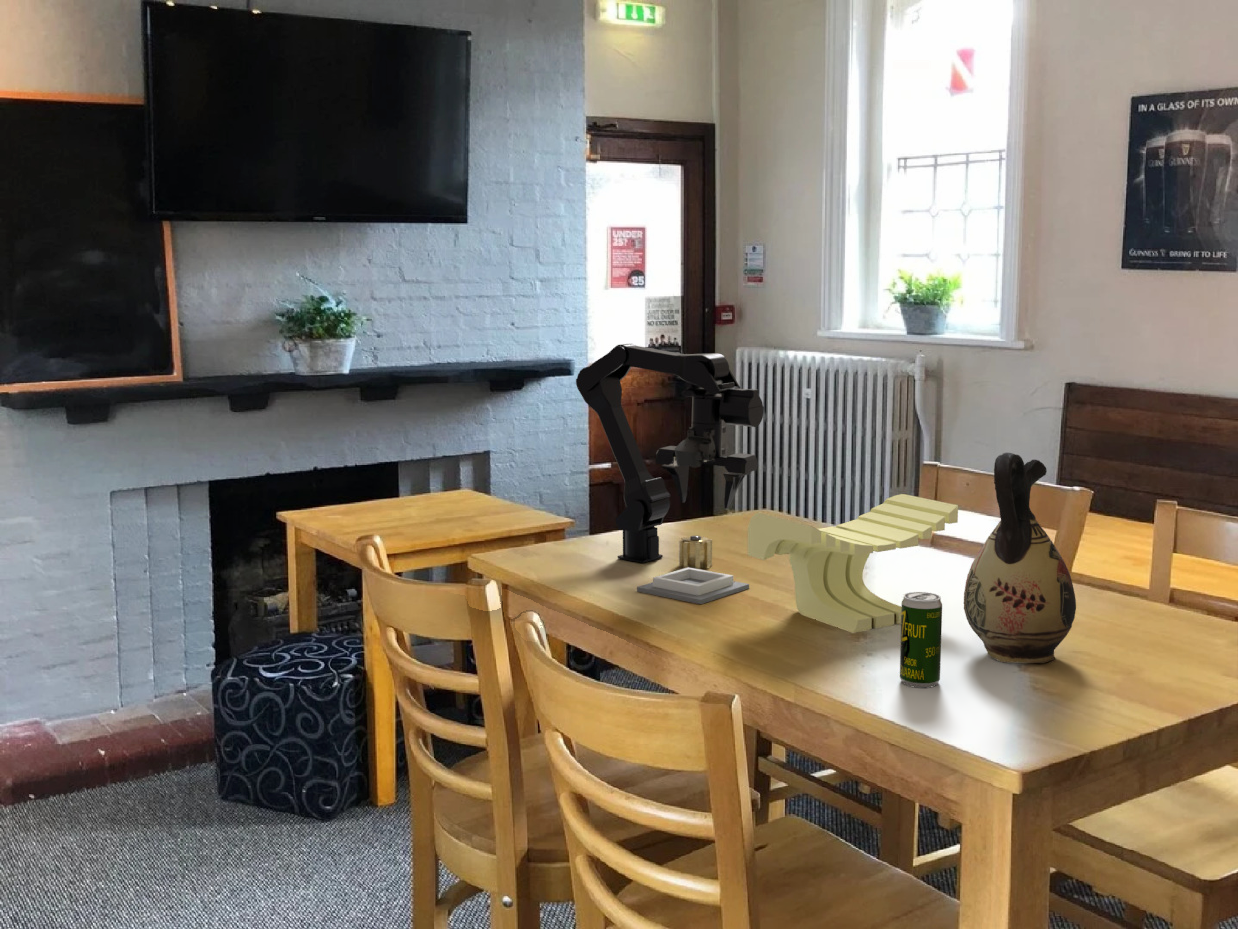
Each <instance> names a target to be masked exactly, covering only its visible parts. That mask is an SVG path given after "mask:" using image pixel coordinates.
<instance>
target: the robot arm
mask: <svg viewBox="0 0 1238 929" xmlns="http://www.w3.org/2000/svg"><path fill="white" fill-rule="evenodd" d="M632 367H633V368H636V369H637V368H638V369H643V370H649V371H653V372H658V373H659V372H660V373H664V374H669V375H674V376H676V377H679V378H680V379H681V380H682V381H684V382H686V383H688V384H689V386H688V387H687V388H686V389H685V390H683V391H682V392H681V395H682V397H690V398H692V402H691V403H692V404H691V427H688V430H687V432H686V438H685V439H683V440H682V441H681V442H680V443H678V445H677V446H675V445H668V446H664V447H660V448H658V450H657V451H656V453H655V464H657V465H661V468H662V469H664V470H666V471H667V472H668V473H669V474H670V475H671V479H673V483H674V485H675V488H676V491H677V494H678V497H679V500H680V502H681V503H685V502H686V500H687V496H688V484H689V470H690V468H696V469H697V468H699V467H701V466H702V465H710V466H718V467H724V469H725V470H726V472H724V473H723V477H724V480H725V484H724V486H725V487H724V499H723V500H724V502H723V504H724V509H729V508H730V506H731V503H732V502H733V500H734V498H735V496H736V493H737V491H738V489H739V487H740V485H741V483H742V482H743V481H744V479H745V477H746V476H747V475H750V474H751V473H752V472H755V471H758V466H759V465H758V461H759V460H758V459H757V457H756V455H755V454H749V453H741V452H740V453H739V452H737V453H734V454H730V455H727V456H726V448H723V434H724V433H726V432H727V430H726V429H727V427H726V426H724V425H723V424H726V425H732V426H740V427H741V426H742V427H750V428H751V427H752V428H758V427H759V426H760V424H761V423H762V420H763V418H764V415H765V414H764V412H765V407H764V405H763V404H764V403H763V401H762V399H761V397H760V395H759V389H758V388H748V389H744V388H741V386H740V385H739V383H738V381H737V379H736V378H735V375H734V374H733V373H732V372H731V370H730V365H729V362H728V360H727V358H726V356H725V355H723V354H721V353H717V352H714V353H713V352H712V353H693V354H691V353H690V354H689V353H685V354H684V353H680V352H673V351H668V350H663V349H662V350H661V349H657V348H651V347H644V346H641V345H636V344H634V343H622V344H617V345H615V347H613V348H612V349H611V350H610V351H608V352H607V353H606V354H604V355H603V356H602V357H600V358H599V359H597V360H595V361H594V362H593V363H591V364H590V365H589V366H586V367H582V369H581V370H579V372H578V374H577V378H576V379H575V384H576V388H577V390H578V391H579V394H580V395H581V397H582V399H583V401H584V402H585V404H587V405H588V407H589V408H591V409H592V410H593V411H594V412H595V413H596V414H597V417H598V418H599V421H600V423H601V426H602V428H603V431H604V434H605V435H606V439H607V441H608V443H609V445H610V446H609V447H610V448H611V450H612V453H613V456H614V458H615V461H616V464H617V466H618V468H619V471H620V474H621V476H622V478H623V480H624V487H623V488H624V489H623V500H624V503H625V504H624V505H625V509H623V510H622V511H621V513H620V514H619V515H618V516H617V517H616V518H615V524H616V527H617V530H619V531H622V554H620V555H617V559H619V560H625V561H630V562H635V563H639V564H641V563H642V564H644V563H647V562H651V561H655V560H659V559H662V558H664V556H663V554H660V537H659V535H658V527H657V526H662V525H663V521H664V519H665V516H667V514H668V512H669V509H670V508H671V501H670V497H671V494H670V493H669V491H668V490H667V488H666V484H665V480H664V479H663V477H656V478H655V477H654V476H653V474H651V473H650V472H649V470H648V468H647V465H646V463H645V460H644V458H643V455H642V452H641V451H640V449H639V446H638V444H637V441H636V439H635V436H634V434H633V431H632V429H631V426H630V424H629V420H628V419H627V416H626V414H625V411H624V409H623V406H622V394H623V389H622V388H623V387H622V384H621V380H623V379H624V378H625V377H626V376H627V375H628V374H629V372H630V370H631V369H632Z"/></svg>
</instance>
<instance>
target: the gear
mask: <svg viewBox="0 0 1238 929" xmlns="http://www.w3.org/2000/svg"><path fill="white" fill-rule="evenodd" d="M678 565H679V568H680V567H682V568H683V569H684V568H688V567H689V568H695V569H700V570H704V569H710V568H711V567H712V566H713V539H712V538H708V537H707V536H701V535H691V536H689V537H681V538H680V539H679V540H678Z"/></svg>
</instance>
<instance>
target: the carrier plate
mask: <svg viewBox="0 0 1238 929" xmlns="http://www.w3.org/2000/svg"><path fill="white" fill-rule="evenodd" d="M749 589H750V584H749V583H745V582H740V581H734V575H733V574H727V573H722V572H721V573H720V572H715V571H711V570H705V569H695V568H689V567H688V568H684V567H683V568H681V569H677V570H675V571H671V572H668V573H667V572H666V573H665V574H661V575H657V576H654V577H653V578H652V582H649V583H646V584H645V583H644V584H641V585H639V586H636V592H637V593H638V592H639V593H642V594H649V595H653V596H658V597H663V598H668V599H673V600H676V601H682V602H687V603H693V604H697V605H703V604H706V603H709V602H712V601H715V600H719V599H721V598H724V597H728V596H730V595H731V596H732V595H734V594H737V593H740V592H743V591H746V590H749Z"/></svg>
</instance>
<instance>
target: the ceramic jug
mask: <svg viewBox="0 0 1238 929" xmlns="http://www.w3.org/2000/svg"><path fill="white" fill-rule="evenodd" d="M993 467H994V468H993V478H994V480H993V483H994V490H995V496H996V501H997V506H998V509H999V517H1000V520H999V521H998V523H997V525H996V527H994V529H993V530H992V531H991V532H990V535H988V537H987V538H986V540H985V542H984V543H983V545H982V546H981V547H980V549H979V551H978V552H977V553H976V556H975V558H974V560H973V561H972V563H971V565H970V568H969V571H968V573H967V576H966V580H965V586H964V592H963V610H964V614H965V617H966V618H965V619H966V620H967V623H968V624H969V626H970V628H971V629H972V631H973V632H974V633H975V634H976V635H977V637H978V638H979V639H980V640H981V641H982V643H983V646H984V649H985V651H986V652H987V653H986V654H987V655H988V657H990V658H992V659H994V660H996V661H999V662H1001V663H1005V664H1006V663H1009V664H1011V663H1018V664H1045V663H1048V662H1050V661H1053V660H1055V659H1056V657H1055V655H1054V654H1055V650H1056V648H1058V646H1060V644H1061V643H1062V642H1063V641H1064V639H1065V638H1066V637H1067V636H1068V634H1069V632H1070V631H1071V629H1072V626H1073V622H1074V620H1075V617H1076V609H1077V600H1076V593H1075V588H1074V585H1073V581H1072V576H1071V574H1070V571H1069V569H1068V567H1067V564H1066V562H1065V561H1064V559H1063V557H1062V555H1061V553H1060V552H1059V550H1058V549H1057V547H1056V546H1055V544H1054V543H1053V540H1051V538H1050V537H1049V535H1048V534H1047V532H1046V531H1045V530H1044V528H1043V527H1042V526H1041V524H1040V523H1039V522H1038V521H1037V518H1036V515H1035V514H1034V513H1033V512H1032V510H1031V508H1030V502H1031V501H1030V499H1031V490H1032V487H1033V485H1035V484H1036V483H1037V482H1038V481H1039V480H1040V479H1042V478H1043V477H1046V475H1047V466H1046V465H1045V464H1044V463H1043V462H1042V461H1040V460H1038V459H1031V460H1029V461H1027V462H1024V460H1023V458H1022V456H1021V455H1019V454H1015V453H1012V452H1003V453H1002V454H999V455H998V456H997V457H996V458H995V461H994V466H993Z"/></svg>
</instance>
